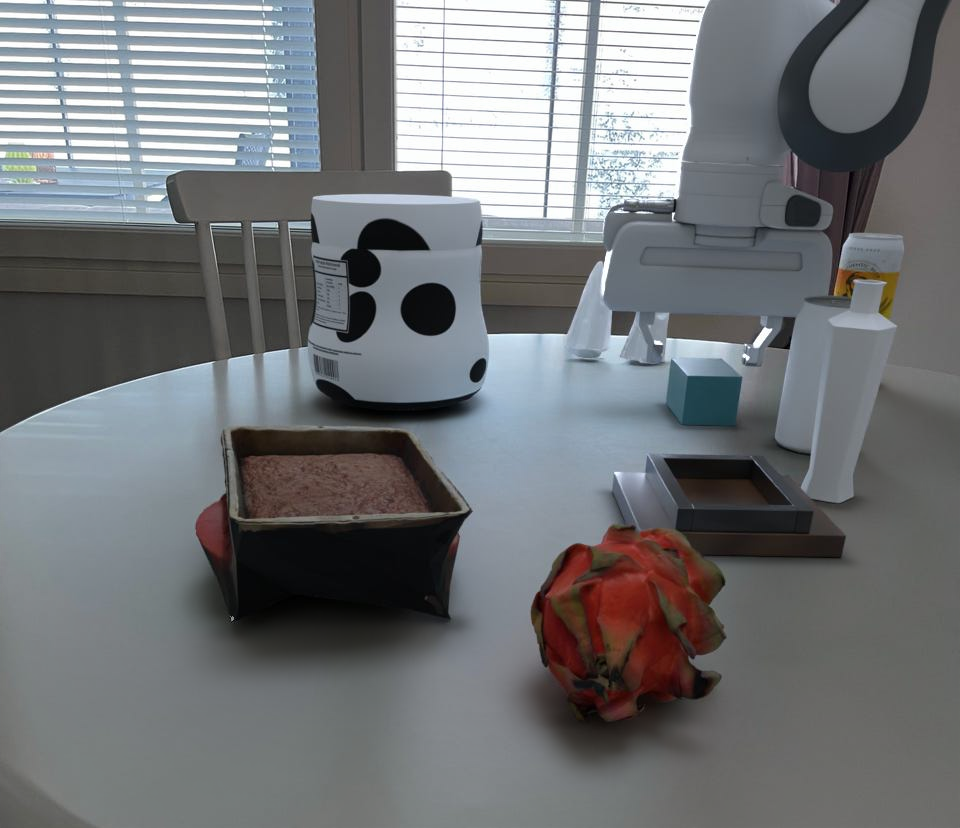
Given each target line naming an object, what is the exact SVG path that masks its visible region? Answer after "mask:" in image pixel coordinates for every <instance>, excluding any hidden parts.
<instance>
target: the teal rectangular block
mask: <svg viewBox="0 0 960 828" xmlns="http://www.w3.org/2000/svg"><path fill="white" fill-rule="evenodd" d="M743 378H744V377H743V376H742V375H741V373H739V372H738V371H736V370H735V369H734V368H733V367H732V366H731V365H730V364H729V363H727V362H726V361H725V360H724V359H723V358H715V357H714V358H710V357H671V358H670V363H669V373H668V380H667V381H668V382H667V391H666V399H665V404H666V406H667V407H668V408H669V409H670V411H671V412H672V414H673V416H675V418H676V419H677V420H678V422H679V423H680V424H681V426H728V427H732V426H733V427H735V426H736V424H737V423H736V422H737V415H738V411H739V410H738V409H739V404H740V403H739V402H740V396H741V391H742V384H743Z"/></svg>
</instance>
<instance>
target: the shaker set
mask: <svg viewBox="0 0 960 828" xmlns="http://www.w3.org/2000/svg"><path fill="white" fill-rule="evenodd" d="M603 267H604V262H603V261H602V260H599V261H597V262H596V263H595V265H594V267H593V268H592V270H591V272H590V274H589V276H588V278H587V281H586V283H585V286H584V288H583V291H582V294H581V296H580V299H579V303H578V306H577V308H576V310H575V313H574V316H573V318H572V321H571V323H570V326H569V329H568V331H567V334H566V336H565V338H564V340H563V345H564V347H565V348H566V349H567V350H568V352H569V353H570V354H572V355H573V356H575V357H578V358H581V359H597V358H599V357H601V355H602V353H604V352H606V351H608V350H609V349H610V347H611V338H612V337H611V335H612V317H613V316H612V315H613V311H611V310H609V309H608V308H607V307H606V306H605V305H604V304H603V302H602V301H601V299H600V284H601V278H602V272H603ZM635 318H636V315H635V316H634V320H633V324H632V326H631V328H630V330H629V333H628V336H627V338H626V341H625V342H624V345H623V348H622V349H621V351H620V353H619V358H620V359H624V360H629V361H630V360H633V361H638V362H639V363H640V364H646V363H645V362H644V361H643V352H644V343H645V341H644V340H643V338H642V335H641V333H640V331H639V329H638V326H637V324H636V322H635ZM669 319H670V313H657V312H655V319H654V324H653V325H648V324H647V326H648V328H649V331H650V333H651V335H652V338H653V340H654V341H660V342H661V343H662V344H663V352H662V353H661V356H662V361H661V363H662V362H665V360H666V348H667V340H668V339H667V337H668V326H669V325H668V324H669ZM649 364H650V365H656V364H657V363H649Z"/></svg>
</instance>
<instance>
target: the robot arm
mask: <svg viewBox="0 0 960 828" xmlns="http://www.w3.org/2000/svg"><path fill="white" fill-rule="evenodd" d="M952 1H953V0H840V1H839V2H838V3H837V4H836V3H834V2H833V1H831V0H708V1H707V4H706V5H705V7H704V9H703V11H702V13H701V17H700V20H699V24H698V29H697V32H696V36H695V41H694V46H693V51H692V57H691V63H690V68H689V75H688V82H687V88H686V97H685V98H686V99H685V110H686V119H687V128H686V135H685V139H684V143H683V145H682V147H681V150H680V153H679V157H678V163H677V173H676V179H675V189H674V195H673V199H670V198H665V199H664V198H651V199H639V198H638V197H628V198H623V199H622V202H619V203H615V204H614V205H613V206H612V207H610V208H609V209H608V210H607V212H606V214H605V217H604V219H603V226H602V243H603V246H604V249H605V250H606V254H605V258H604V262H603V272H602V278H601V284H600V299H601V301H602V302H603V304H604V305H605V306H606V307H607V308H608V309H609V310H611V311H612V312H634V313H635V316H636V318H635V317H634V320H635V322H636V324H637V326H638V329H639V331H640V333H641V335H642V338H643V340H644V341H645V343H644V352H643V361H644V362H645V363H644V364H650V363H652V364H653V363H656V364H661V363H662V362H663V361H662V356H661V353H662V352H663V344H662V343H661V342H660V341H654V340H653V338H652V335H651V333H650V331H649V328H648V326H647V324H648V325H653V324H654V319H655V312H657V313H669V314H687V315H688V314H689V315H690V314H691V315H713V316H714V315H715V316H716V315H717V316H719V315H720V316H743V317H744V316H745V317H760V320H759V325H761V326H762V327H764V328H762V330H761V332H759V335H758V336H757V337H756V339H755V340H754V342H753V343H744V346H743V353H744V354H743V355H742V359H741V363H742V365H744V366H745V367H751V368H752V367H754V368H755V367H756V368H757V367H758V368H759V367H760V368H761V367H762V366H763V363H764V357H765V351H766V349H767V348H768V347H769V346H770V345H771V343H772V342H773V341H774V339H775V338H776V336H777V335H778V334H779V333H780V331H781V330H782V326H783V320H784V318H796V317H797V315H798V313H799V312H800V310H801V309H802V307H803V305H804V303H805V301H804V298H805V297H809V296H829V292H830V285H831V279H832V278H831V277H832V268H833V247H832V243H831V240H830V238H829V236H828V235H827V234H825V232H823V230H826V229H827V228H829V226H830V225H831V222H832V219H833V215H834V208H833V205H832V204H831V203H829V202H828V201H827V200H824V199H821V198H818V197H816V196H814V195H812V194H809V193H806V192H804V191H803V190H802V189H801V188H799V187H795V186H791V185H787V184H784V183H783V174H784V169H785V162H786V158H787V157H788V154H789V153H791V152H792V153H793V154H794V155H795V156H796V157H797V158H798V159H799V160H801V161H802V162H804V163H805V164H806V165H808V166H810V167H812V168H814V169H817V170H819V171H822V172H827V173H837V174H838V173H842V174H843V173H851V172H856V171H860V170H864V169H865V168H868V167H870V166H872V165H874V164H876V163H878V162H880V161H882V160H883V159H885V158H886V157H888V156H889V155H890V154H891V153H893V152H894V151H895V150H896V149H897V148H898V147H899V146H901V144H902V143H903V142H904V141H905V140H906V139H907V138H908V136H909V135H910V133H911V132H912V131H913V129H914V127H915V126H916V124H917V123H918V121H919V118H920V117H921V114H922V112H923V110H924V107H925V104H926V101H927V98H928V94H929V91H930V90H929V89H930V85H931V79H932V73H933V66H934V65H933V64H934V55H935V49H936V42H937V38H938V34H939V31H940V28H941V26H942V24H943V23H942V22H943V20H944V18H945V15H946V14H947V11H948V10H949V7H950V5H951V3H952ZM619 209H621V210H622V211H617V210H619ZM661 361H662V362H661Z"/></svg>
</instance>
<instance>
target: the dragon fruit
mask: <svg viewBox="0 0 960 828" xmlns="http://www.w3.org/2000/svg"><path fill="white" fill-rule="evenodd" d="M726 582H727V580H726V578H725V575H724V573H723V572H722V570H721V568H720V567H719V566H718V565H717V564H716V563H715V562H714V561H711V560H710V559H706V558H705V557H704V555H702V554H701V553H700V552H698V551H696V550H695V549H693V548H692V547H691V545H690V543H689V541H688V540H687V538H686V536H685V535H683V534H682V533H680V532H679V531H677V530H675V529H666V528H650V529H646V530H644V531H641V532H640V533H638V531H637V530H636V527H635V526H634V525H626V524H623V523H622V524H621V523H613V524H611V525H609V527H608V528H607V530H606V532H605V533H604V535H603V537H602V541H601V543H598V544H595V545H588V544H584V543H581V542H576V543H573V544H571V545H569V546H568V547H567V548H565V549H564V550H563V551H561V552H560V553H559V554H558V556H557V557H556V558H555V559H554V561H553V562H552V564H551V570H550V572H549V573H548V575H547V577H546V579H545V581H544V582H543V584H541V586H540V589H539V590H538V591H537V592H536V594H535V595H534V597H533V600H532V603H531V606H530V620H531V625H532V627H533V631H534V633H535V635H536V641H537V644H538V650H539V656H540V659H541V664H542V665H543V666H544V668H548V669H549V671H550V672H551V674H552V675H553V677H555V678H556V680H557V681H558V682H559V684H560V686H561V687H562V688H563V690H564V691H565V692H566V693H567V694H568V695H567V697H566V698H567V699H566V700H567V703H568V704H569V705H570V707H571V710H572V712H573V713H574V714H575V718H576V719H578V720H580V721H582V723H584V724H587V719H588V714H592V713H598V716H599V717H600V718H602V719H603V720H604V721H605V722H607V723H611V722H615V721H617V723H619V722H621V721H623V720H629V721H631V720H633V719H635V717H636V716H640V715H641V712H642V711H644V709H645V706H646V705H647V703H642V704H640V706H639V703H637V699H638V697H639V696H642V695H643V694H645V695H646V696H647V697H648V698H650V699H651V700H653V701H654V702H656V703H657V704H666V703H669V702H672V701H675V700H676V699H678V700H682V699H688V700H701V699H703V698H706V697H708V696H709V695H710V694H711V693H712V691H713V690H714V688H715V687H716V686H718V685H719V683H720V682H721V680H722V676H723V675H722V674H721V673H719V672H717V671H715V670H701V669H699V668H698V667H696V666H695V665H694V664H693V663H691V661H690V659H691V660H695V659H696V656H705V655H708V654H711V653H713V652H715V651H716V650H718V649H720V647H721V646H722V644H723V643H724V642H725V640H726V639H727V634H726V633H725V630H724V628H725V625H724V624H723V623H722V622H721V621H720V619H719V618H718V617H717V615H716V612H715V610H714V608H712V607H711V606H710V605H711V604H712V602H713V600H715V598H716V597H717V596H718V595H719V593H720V592H721V591H722V589H723V588H724V587H725V586H726Z"/></svg>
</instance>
